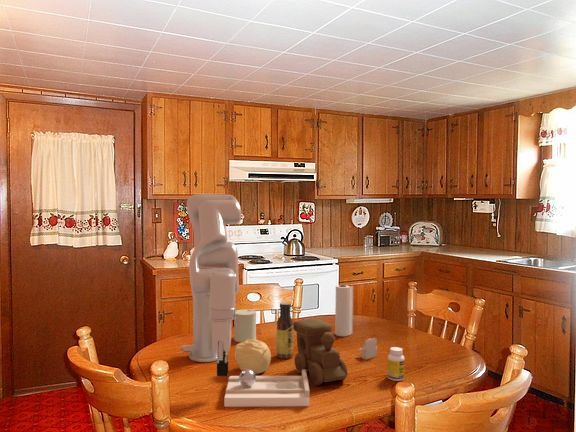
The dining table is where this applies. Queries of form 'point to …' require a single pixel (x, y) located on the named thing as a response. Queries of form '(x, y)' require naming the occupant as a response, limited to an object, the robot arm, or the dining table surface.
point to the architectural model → (369, 349)
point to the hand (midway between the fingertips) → (222, 375)
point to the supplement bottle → (395, 364)
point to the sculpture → (253, 356)
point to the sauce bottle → (284, 332)
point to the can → (245, 325)
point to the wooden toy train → (318, 352)
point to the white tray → (268, 391)
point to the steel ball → (247, 378)
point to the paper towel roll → (344, 310)
